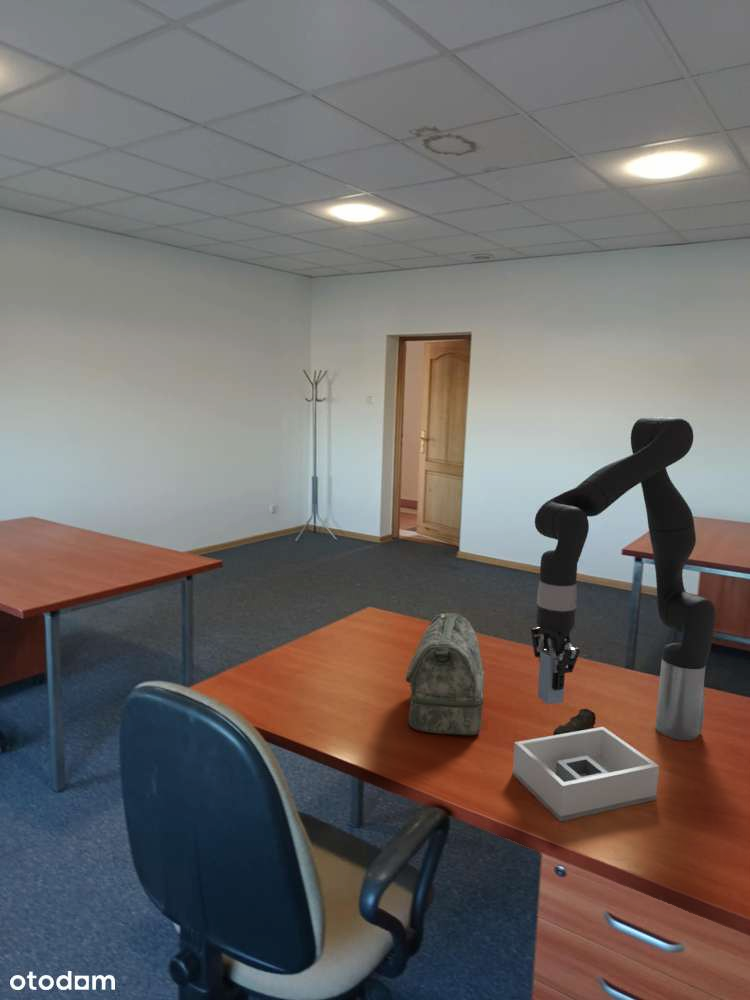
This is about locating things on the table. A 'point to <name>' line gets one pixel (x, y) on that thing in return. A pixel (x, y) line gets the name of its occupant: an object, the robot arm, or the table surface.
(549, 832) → the table surface
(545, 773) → the walled box
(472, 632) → the lunch bag
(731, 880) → the table surface
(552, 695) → the plug
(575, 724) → the hand tool
